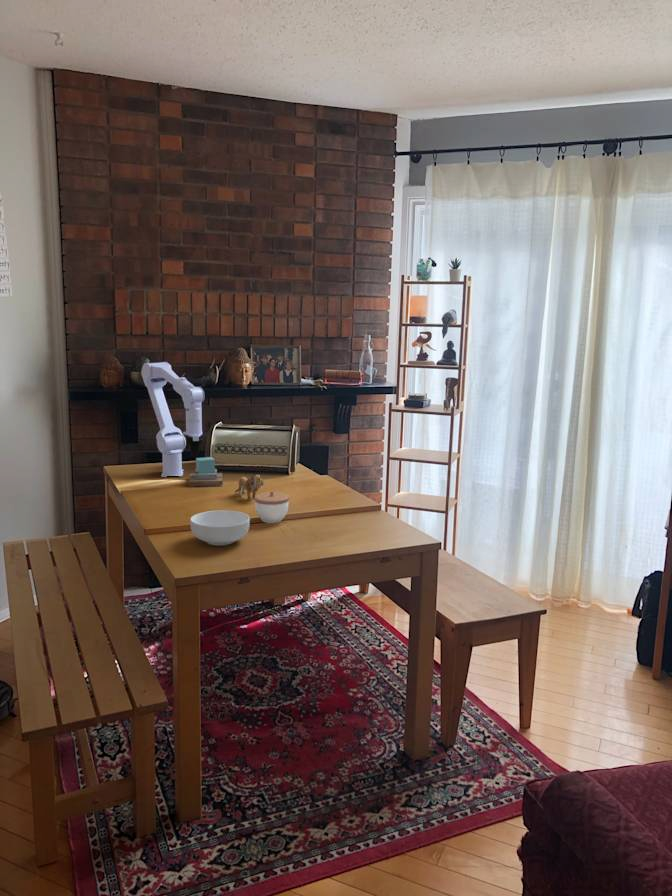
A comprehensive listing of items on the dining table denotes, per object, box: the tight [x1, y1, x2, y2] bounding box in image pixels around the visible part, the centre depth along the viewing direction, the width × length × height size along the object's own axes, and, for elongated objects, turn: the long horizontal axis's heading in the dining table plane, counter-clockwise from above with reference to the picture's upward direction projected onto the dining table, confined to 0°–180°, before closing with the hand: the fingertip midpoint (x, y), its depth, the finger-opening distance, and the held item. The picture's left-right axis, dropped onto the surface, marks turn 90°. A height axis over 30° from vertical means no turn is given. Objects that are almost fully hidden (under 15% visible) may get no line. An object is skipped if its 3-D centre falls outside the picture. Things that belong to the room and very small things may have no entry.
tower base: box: [188, 468, 223, 487], centre depth 275 cm, size 12×12×4 cm
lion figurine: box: [234, 474, 265, 502], centre depth 256 cm, size 15×5×9 cm, turn 44°
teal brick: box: [195, 456, 216, 474], centre depth 274 cm, size 4×6×5 cm
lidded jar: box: [254, 490, 290, 524], centre depth 231 cm, size 11×11×9 cm
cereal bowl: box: [189, 509, 251, 547], centre depth 211 cm, size 17×17×7 cm
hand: (194, 456), depth 274 cm, fingers closed
